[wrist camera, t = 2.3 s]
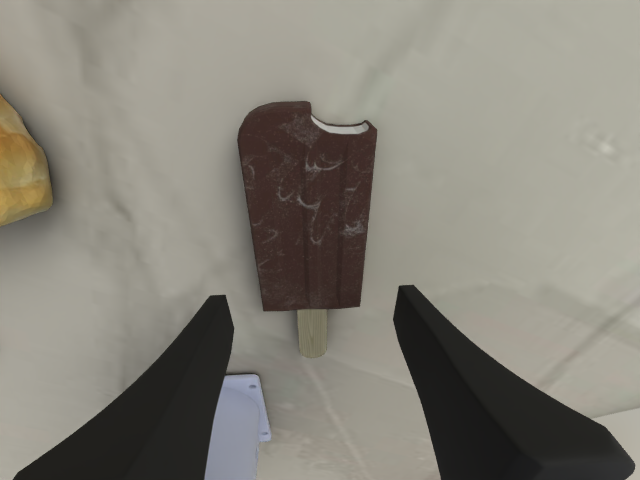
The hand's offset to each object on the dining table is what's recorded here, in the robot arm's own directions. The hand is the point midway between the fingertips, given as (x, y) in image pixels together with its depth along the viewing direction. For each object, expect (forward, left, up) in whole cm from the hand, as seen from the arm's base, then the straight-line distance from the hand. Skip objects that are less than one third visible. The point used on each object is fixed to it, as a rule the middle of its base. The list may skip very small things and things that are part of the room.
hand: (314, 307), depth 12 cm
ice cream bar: (0, 0, -4) cm, 4 cm away
